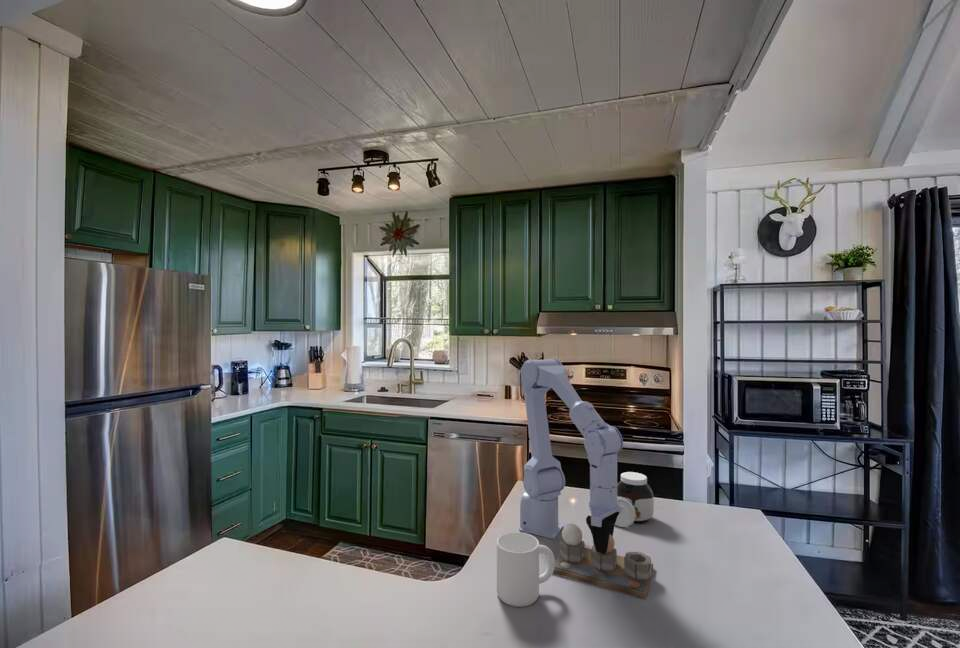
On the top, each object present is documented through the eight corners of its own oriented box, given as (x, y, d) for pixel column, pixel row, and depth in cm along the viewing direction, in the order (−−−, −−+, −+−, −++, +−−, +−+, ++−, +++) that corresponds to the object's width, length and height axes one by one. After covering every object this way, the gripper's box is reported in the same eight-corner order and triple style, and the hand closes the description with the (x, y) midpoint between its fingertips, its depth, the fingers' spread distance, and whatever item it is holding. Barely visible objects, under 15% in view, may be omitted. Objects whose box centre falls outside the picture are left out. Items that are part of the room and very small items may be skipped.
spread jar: (651, 514, 120) (650, 472, 120) (658, 533, 109) (658, 487, 109) (606, 510, 123) (606, 469, 123) (609, 528, 112) (609, 483, 112)
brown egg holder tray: (551, 572, 91) (551, 553, 91) (567, 547, 102) (567, 530, 102) (646, 599, 82) (646, 578, 82) (653, 568, 93) (653, 550, 93)
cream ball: (559, 546, 95) (559, 526, 95) (565, 538, 99) (565, 518, 99) (579, 551, 93) (579, 531, 93) (584, 542, 97) (584, 522, 97)
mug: (546, 577, 90) (546, 527, 90) (564, 601, 82) (563, 547, 82) (491, 585, 87) (491, 534, 87) (504, 611, 79) (504, 555, 79)
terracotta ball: (590, 554, 92) (590, 533, 92) (595, 545, 96) (595, 525, 96) (612, 560, 90) (612, 538, 90) (616, 550, 94) (616, 529, 94)
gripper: (616, 498, 85) (616, 567, 85) (628, 476, 98) (628, 536, 97) (580, 492, 88) (581, 558, 88) (597, 471, 101) (597, 529, 101)
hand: (603, 546), depth 93 cm, fingers closed on terracotta ball, 4 cm apart
